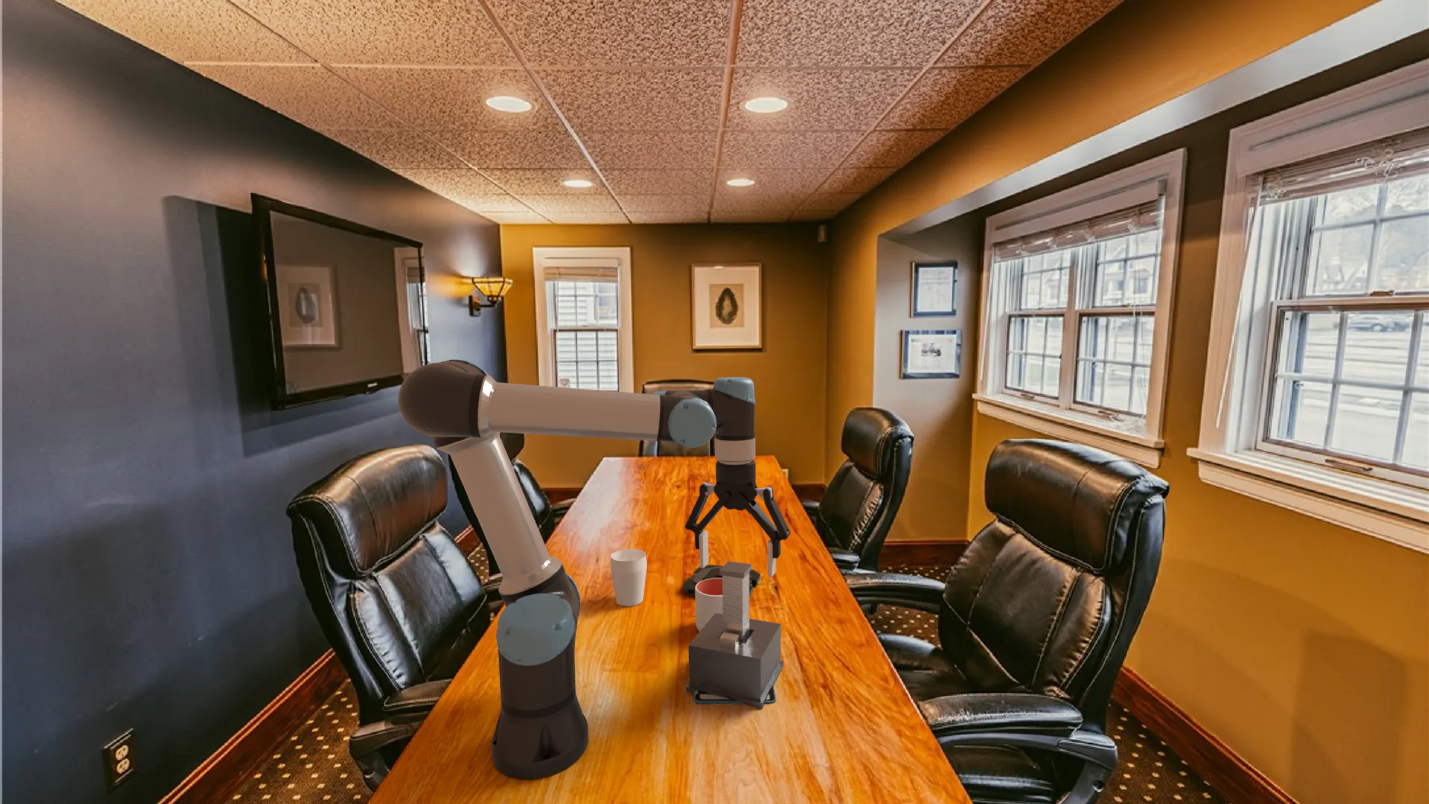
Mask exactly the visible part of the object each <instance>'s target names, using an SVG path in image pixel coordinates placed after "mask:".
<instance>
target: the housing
mask: <svg viewBox="0 0 1429 804" xmlns="http://www.w3.org/2000/svg"><path fill="white" fill-rule="evenodd" d="M781 627H782V624H781V623H779V622H773V621H767V620H766V621H765V620H759V619H754V618H749V639H748V641H747V642H746V644H745V643H740V642H739V635H736V634H730V633H723V614H718V613H715V614H714V615H713V616H712V618H711V619H710V620H709V621H708V622H707V624H706V625H705V626H704V627H703V628H702V630H701V631H698V633H697V634H696V636H695V637H694V638H693V639H692V640H691V641H690V643H689V644H688V645H687V646H688V683H687V684H686V685H685V692H686V693H688V694H689V693H690V694H694V691H698V692H702V693H707V694H711V695H715V696H719V697H723V698H728V699H732V700H736V701H740V702H741V704H740V705H744V706H748V707H749V706H750V707H754V708H758V709H764V707H765V705H766V704H765V701H766V699H767V697H768V695H769V693H770V691H771V689H772V687H773V685H774V686H775V684H776V683H777V680H778V678H779V676H780V675H781V672H782V671H783V669H784V666H785V661H784V660H782V653H781V652H782V648H781V647H782V628H781Z"/></svg>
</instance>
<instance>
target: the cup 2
mask: <svg viewBox="0 0 1429 804" xmlns="http://www.w3.org/2000/svg"><path fill="white" fill-rule="evenodd" d="M694 596H695V597H694V598H695V607H694V609H695V627H696V629H697V631H698V632H700V631H701V630H702V628H703V627H704V626H705V625H706V624H707V622H708V621H709V620H710V619H711V618H712V616H713V615H714V614H715V613H718V614H723V590H722V578H711V579H706V580H703V581H701V582H699V583H698V584H697V585H696V586H695V595H694Z"/></svg>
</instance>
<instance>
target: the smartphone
mask: <svg viewBox="0 0 1429 804" xmlns="http://www.w3.org/2000/svg"><path fill="white" fill-rule="evenodd" d="M776 696H777V695H776V690H775V685H773V687H772V689H771V691H770V693H769V695H768V697H767V699H766V701H765V705H767V704H768V705H771V704H774V703H776V702H777V697H776ZM693 703H694V704H695V705H698V706H699V705H702V706H705V705H706V706H707V705H708V706H709V705H742V704H741V702H740V701H736V700H732V699H728V698H723V697H719V696H715V695H711V694H707V693H702V692H698V691H694V693H693Z"/></svg>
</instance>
